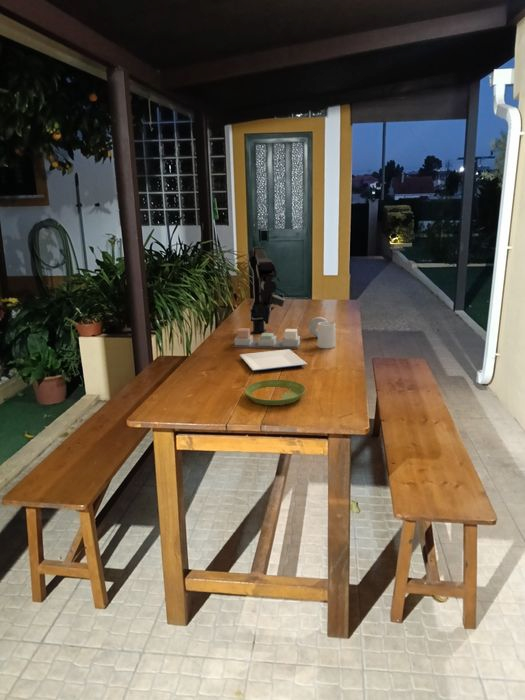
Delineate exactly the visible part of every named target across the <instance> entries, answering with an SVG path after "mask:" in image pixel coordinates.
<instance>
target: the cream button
mask: <svg viewBox="0 0 525 700" xmlns="http://www.w3.org/2000/svg"><path fill="white" fill-rule="evenodd" d="M284 336H285V339H294V340H296V339H297V336H298V328H285V330H284Z"/></svg>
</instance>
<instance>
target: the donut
mask: <svg viewBox="0 0 525 700" xmlns="http://www.w3.org/2000/svg"><path fill="white" fill-rule="evenodd" d="M326 321H328V320H327V319H326V318H325V317H322V316H317V317H316V316H315V317H314V318H312V319H311V320H310V321H309V323H308V332H309V333H310V334H311V335H312V336H313V337H315V338H318V328H317V327H316V326H318V323H319V322H326Z"/></svg>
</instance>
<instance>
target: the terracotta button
mask: <svg viewBox="0 0 525 700" xmlns="http://www.w3.org/2000/svg"><path fill="white" fill-rule="evenodd" d="M250 335H251V328H250V327H249V328H248V327H238V329H237V330H236V337H237V338H246V339H248V338H249V337H250Z"/></svg>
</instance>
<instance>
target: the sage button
mask: <svg viewBox="0 0 525 700" xmlns="http://www.w3.org/2000/svg"><path fill="white" fill-rule="evenodd" d="M274 334H275V333H274V332H265V333H261V334H260V336H261V339H273V337H274Z"/></svg>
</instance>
